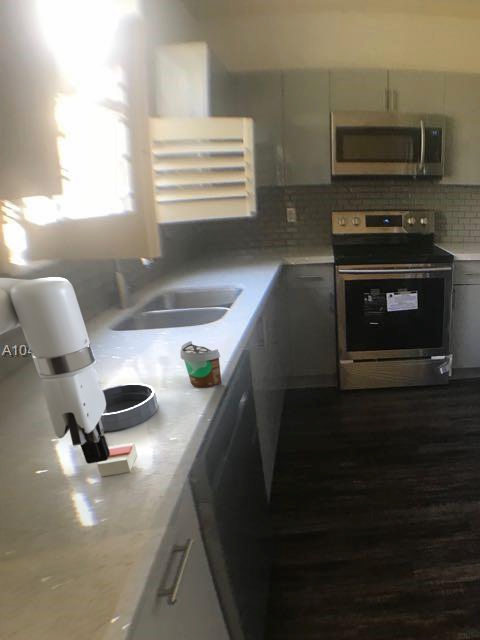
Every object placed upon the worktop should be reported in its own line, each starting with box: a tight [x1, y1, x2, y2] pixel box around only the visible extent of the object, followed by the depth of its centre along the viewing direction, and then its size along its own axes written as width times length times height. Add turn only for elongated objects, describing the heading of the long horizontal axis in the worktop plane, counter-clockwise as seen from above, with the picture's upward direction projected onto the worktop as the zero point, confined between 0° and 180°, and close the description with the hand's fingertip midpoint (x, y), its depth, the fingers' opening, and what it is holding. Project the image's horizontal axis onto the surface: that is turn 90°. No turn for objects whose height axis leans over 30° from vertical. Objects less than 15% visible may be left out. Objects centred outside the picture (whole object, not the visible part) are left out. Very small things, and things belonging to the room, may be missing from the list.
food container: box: [179, 340, 223, 389], centre depth 118 cm, size 12×6×10 cm, turn 55°
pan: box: [101, 383, 159, 432], centre depth 105 cm, size 15×15×4 cm
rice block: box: [97, 442, 138, 478], centre depth 87 cm, size 5×6×3 cm
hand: (98, 459), depth 77 cm, fingers closed
